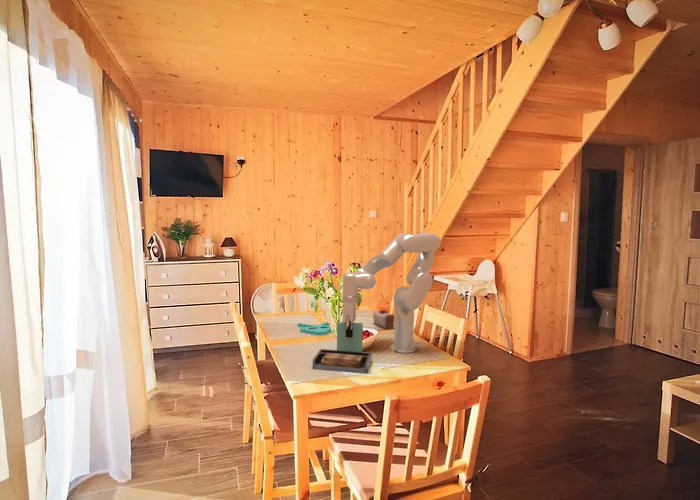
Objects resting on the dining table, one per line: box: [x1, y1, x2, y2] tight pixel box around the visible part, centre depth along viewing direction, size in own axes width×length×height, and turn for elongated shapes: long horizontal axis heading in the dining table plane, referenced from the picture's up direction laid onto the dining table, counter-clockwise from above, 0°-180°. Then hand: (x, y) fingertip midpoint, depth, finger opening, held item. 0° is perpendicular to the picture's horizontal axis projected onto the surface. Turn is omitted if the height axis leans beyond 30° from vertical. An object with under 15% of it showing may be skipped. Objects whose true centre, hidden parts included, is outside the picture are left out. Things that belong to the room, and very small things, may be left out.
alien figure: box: [297, 320, 331, 336], centre depth 245 cm, size 20×2×20 cm
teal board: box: [336, 321, 364, 352], centre depth 207 cm, size 12×2×14 cm, turn 79°
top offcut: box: [324, 353, 362, 364], centre depth 188 cm, size 16×6×2 cm, turn 77°
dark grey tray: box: [312, 348, 373, 374], centre depth 191 cm, size 24×14×5 cm, turn 79°
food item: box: [372, 309, 395, 330], centre depth 253 cm, size 14×8×10 cm, turn 34°
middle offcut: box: [321, 356, 358, 367], centre depth 189 cm, size 16×6×2 cm, turn 82°
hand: (349, 335), depth 207 cm, fingers closed on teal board, 2 cm apart
